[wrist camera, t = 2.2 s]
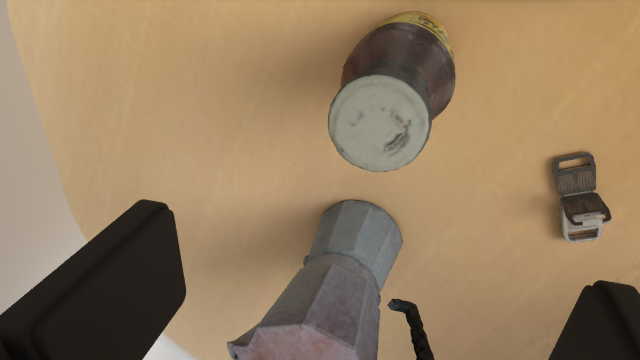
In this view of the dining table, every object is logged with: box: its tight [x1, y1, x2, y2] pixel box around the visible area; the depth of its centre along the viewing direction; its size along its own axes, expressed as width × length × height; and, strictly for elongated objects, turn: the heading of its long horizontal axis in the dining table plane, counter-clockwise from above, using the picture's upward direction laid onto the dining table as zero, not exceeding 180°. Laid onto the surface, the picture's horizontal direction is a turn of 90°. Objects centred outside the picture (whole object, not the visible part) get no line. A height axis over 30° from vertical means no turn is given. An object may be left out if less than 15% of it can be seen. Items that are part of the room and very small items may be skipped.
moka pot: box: [227, 200, 435, 360], centre depth 34 cm, size 10×15×20 cm, turn 95°
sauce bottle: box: [328, 12, 455, 172], centre depth 24 cm, size 7×6×20 cm
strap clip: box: [553, 152, 611, 243], centre depth 33 cm, size 8×3×4 cm, turn 20°
